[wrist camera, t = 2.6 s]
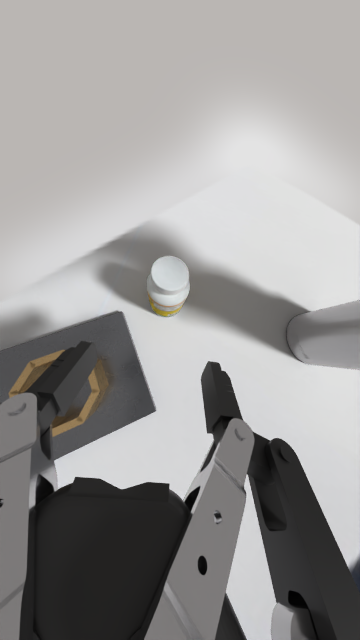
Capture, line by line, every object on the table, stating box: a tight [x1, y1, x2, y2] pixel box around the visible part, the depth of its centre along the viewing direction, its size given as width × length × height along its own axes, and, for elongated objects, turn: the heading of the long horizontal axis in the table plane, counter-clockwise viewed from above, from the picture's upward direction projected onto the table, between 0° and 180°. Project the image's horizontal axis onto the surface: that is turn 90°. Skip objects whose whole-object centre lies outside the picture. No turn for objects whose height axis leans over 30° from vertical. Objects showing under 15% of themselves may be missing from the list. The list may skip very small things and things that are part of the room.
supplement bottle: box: [146, 256, 190, 317], centre depth 20 cm, size 5×5×10 cm
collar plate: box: [0, 312, 156, 460], centre depth 18 cm, size 18×15×4 cm
